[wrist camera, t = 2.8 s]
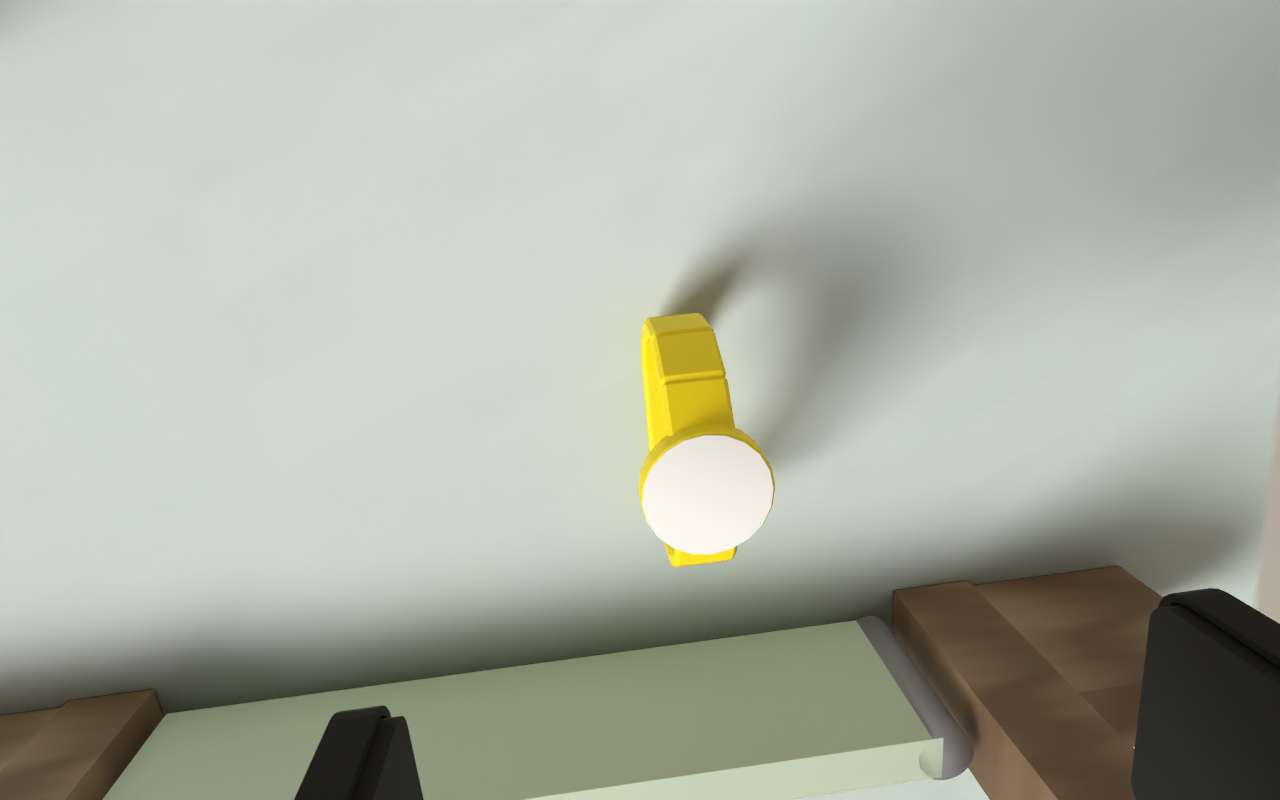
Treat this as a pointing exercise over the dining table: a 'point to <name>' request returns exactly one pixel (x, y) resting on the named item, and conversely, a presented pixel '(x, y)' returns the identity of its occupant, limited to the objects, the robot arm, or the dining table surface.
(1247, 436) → the dining table surface
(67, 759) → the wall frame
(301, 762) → the pale green flat bar
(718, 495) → the watch
